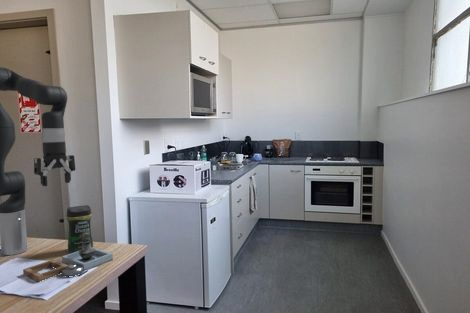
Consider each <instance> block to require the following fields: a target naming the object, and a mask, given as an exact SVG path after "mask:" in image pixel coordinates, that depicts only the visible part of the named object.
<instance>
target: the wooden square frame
mask: <svg viewBox="0 0 470 313" xmlns="http://www.w3.org/2000/svg"><path fill="white" fill-rule="evenodd" d="M68 266H69V265H67V264H64V263H62V261H61V262H60V261H58V260H56V259H51V260H47V261H45V262H42V263H38V264H35V265H32V266H28V267H26V268H24V269H22V271H23V272H22V273H23V276H25V277H26V278H27V277H28V278H29V279H32V280H33V279H34V281H35V280H36V282H37V281H38V282H37V283H41V282H43V281H42V280H44V281H46V280H49V279H51V278H50V277H52V278H54V277H56V276H55V275H57V276H59V275H58V274H60V273H62V268H65V267H68ZM49 267H50V268H52V269H50V270H47V271H45V272H41V271H44V270H46V269H49ZM53 267H54V268H53ZM55 268H56V269H55ZM43 269H44V270H43ZM40 272H41V273H40ZM60 275H61V274H60ZM53 276H54V277H53ZM48 278H49V279H48ZM45 279H46V280H45ZM40 281H41V282H40Z"/></svg>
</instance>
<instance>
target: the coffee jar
mask: <svg viewBox="0 0 470 313" xmlns="http://www.w3.org/2000/svg"><path fill="white" fill-rule="evenodd" d="M91 208H92V207H91V206H90V205H88V204H83V205H78V206H69V207H67V209H66V220H67V223H68V235H67V236H68V237H67V250H68V252H69V253H74V252H77V251H80V250H82V242H81V241H82V233H83V232H84V231H85V229H86V231H88V232H90V240H91V247H92V248H94V240H93V234H92V227H91V219H92V216H93V214H92V209H91Z"/></svg>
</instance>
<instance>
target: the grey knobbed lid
mask: <svg viewBox="0 0 470 313" xmlns="http://www.w3.org/2000/svg"><path fill="white" fill-rule="evenodd" d="M81 273H82V274H83V273H85V271H84V266H82V265H79V264H71V265H69V266H68V267H65V268H62V274H61V277H63V276H66V277H65V278H70V277H69V276H75V275H78V274H80V275H82V274H81ZM78 276H79V275H78ZM75 277H76V276H75Z"/></svg>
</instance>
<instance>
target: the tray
mask: <svg viewBox="0 0 470 313" xmlns="http://www.w3.org/2000/svg"><path fill="white" fill-rule="evenodd" d="M93 248H94V249H95V251H94V255H93V256H92V257H94V258H95V259H94V260H91V261H88V262H86V263H84V262H81V261H80V260H81V259H82V257H81V256H80V254H79V251H77V252H74V253H72V252H70V253H69V254H65V255H63V256H61V263H64V264H66V265H71V264H79V265H82V266H84V272H86V271H89V270H91V269H93V268H96V267H98V266H101V265H104V264H106V263H109V262H112V261H113V259H114V257H113V256H114V254H113V253H111V252H108V251H105V250H102V249H99V248H96V247H93ZM85 270H86V271H85Z"/></svg>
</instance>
